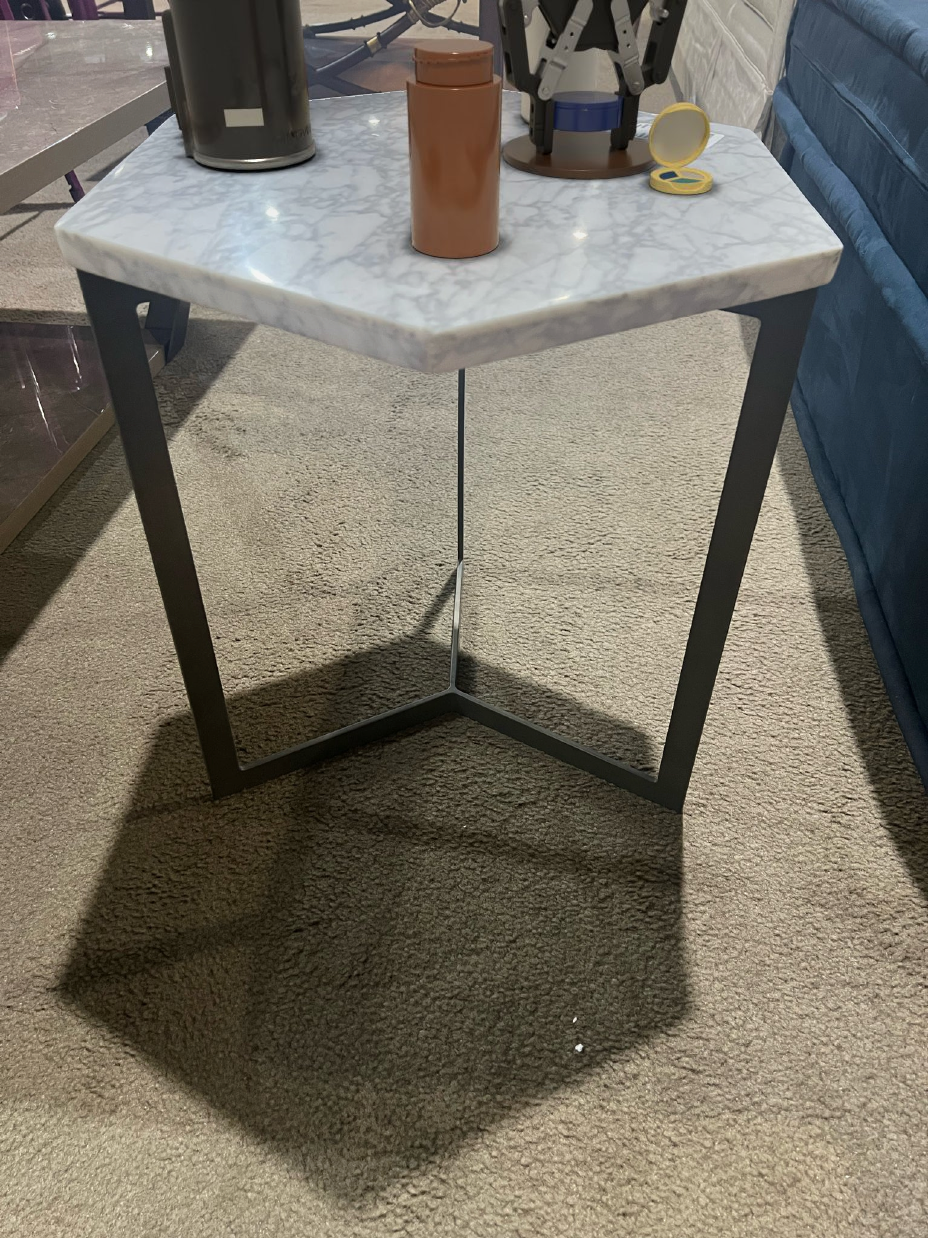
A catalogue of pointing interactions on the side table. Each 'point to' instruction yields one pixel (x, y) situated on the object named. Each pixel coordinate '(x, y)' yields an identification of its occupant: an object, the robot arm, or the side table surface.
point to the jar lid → (587, 111)
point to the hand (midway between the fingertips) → (581, 148)
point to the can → (574, 76)
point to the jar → (454, 147)
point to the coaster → (580, 156)
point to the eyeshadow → (679, 149)
